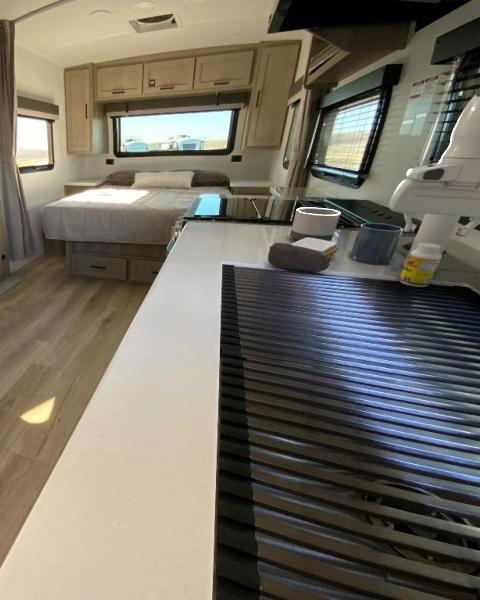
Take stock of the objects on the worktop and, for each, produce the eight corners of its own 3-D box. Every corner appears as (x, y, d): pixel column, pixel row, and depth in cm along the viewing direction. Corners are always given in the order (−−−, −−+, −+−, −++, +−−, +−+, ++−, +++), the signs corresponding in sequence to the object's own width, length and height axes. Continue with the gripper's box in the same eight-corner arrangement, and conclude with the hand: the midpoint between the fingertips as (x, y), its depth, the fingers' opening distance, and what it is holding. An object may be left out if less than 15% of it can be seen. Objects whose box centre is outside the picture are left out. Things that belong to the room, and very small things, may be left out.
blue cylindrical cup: (384, 256, 103) (397, 224, 98) (394, 266, 95) (409, 232, 91) (346, 252, 107) (357, 221, 102) (353, 262, 99) (365, 229, 95)
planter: (280, 238, 123) (288, 209, 118) (304, 234, 127) (312, 206, 122) (314, 247, 112) (323, 216, 107) (339, 242, 116) (349, 212, 112)
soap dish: (302, 250, 109) (306, 236, 107) (336, 258, 102) (341, 242, 100) (283, 259, 103) (288, 243, 101) (318, 267, 96) (324, 251, 94)
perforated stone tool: (327, 272, 93) (335, 248, 90) (325, 278, 89) (333, 253, 86) (268, 261, 101) (273, 239, 98) (264, 267, 97) (269, 244, 94)
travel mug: (423, 277, 88) (460, 200, 79) (396, 268, 94) (427, 195, 85) (439, 274, 90) (477, 198, 81) (412, 266, 95) (444, 194, 86)
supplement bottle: (395, 278, 88) (411, 240, 83) (422, 281, 86) (441, 243, 81) (401, 285, 84) (419, 246, 79) (430, 289, 81) (450, 249, 77)
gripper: (521, 172, 71) (487, 234, 77) (400, 169, 79) (377, 226, 85) (541, 175, 66) (502, 242, 72) (409, 171, 74) (384, 232, 80)
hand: (434, 233), depth 79 cm, fingers open, 8 cm apart
